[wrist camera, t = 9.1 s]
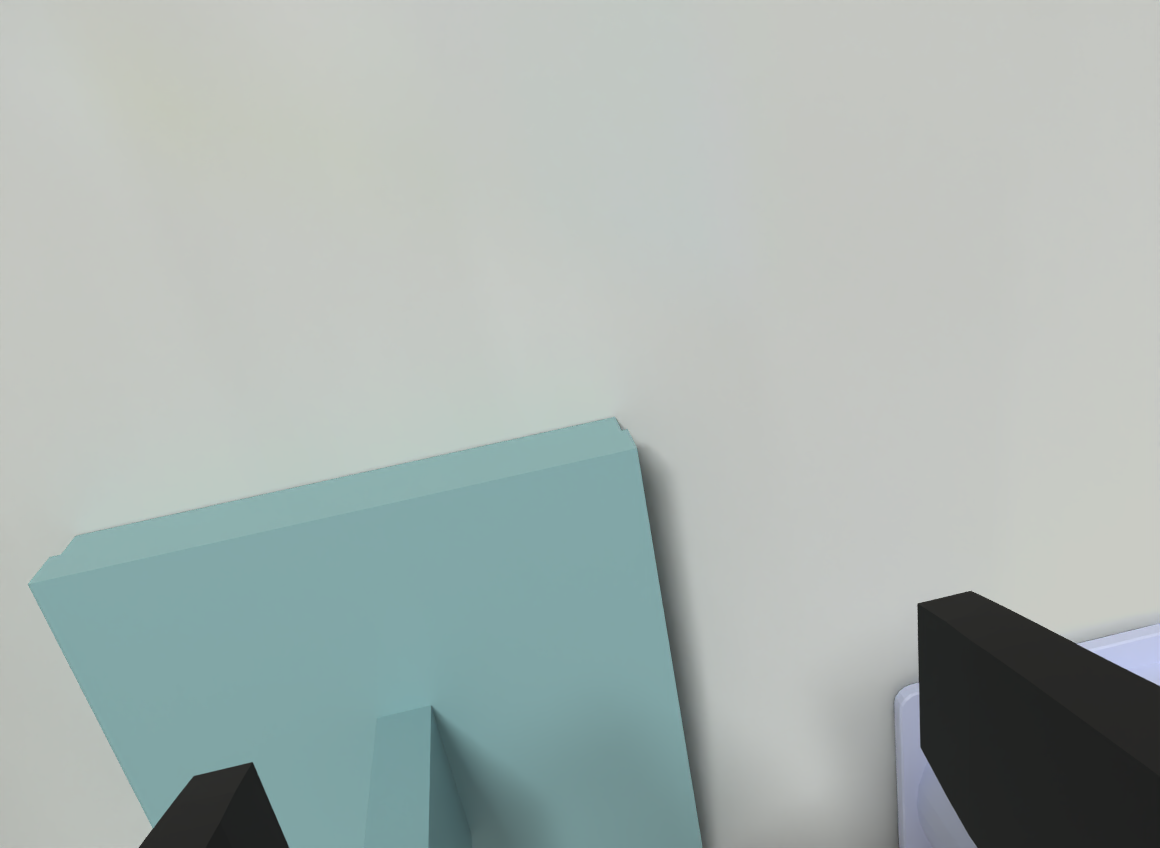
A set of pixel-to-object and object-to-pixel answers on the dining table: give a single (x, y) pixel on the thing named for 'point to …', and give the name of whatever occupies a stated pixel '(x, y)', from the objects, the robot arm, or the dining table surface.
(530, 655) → the lid
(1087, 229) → the dining table surface
